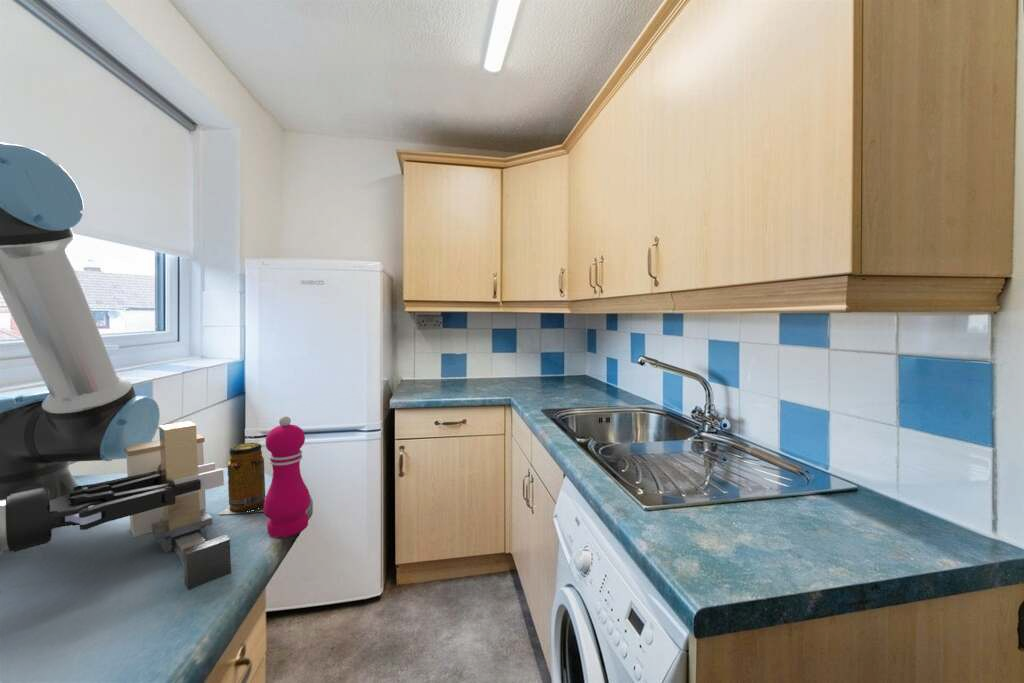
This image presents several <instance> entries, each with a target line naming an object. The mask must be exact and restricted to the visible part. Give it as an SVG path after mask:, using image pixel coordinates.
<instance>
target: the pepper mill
mask: <svg viewBox="0 0 1024 683" xmlns="http://www.w3.org/2000/svg"><path fill="white" fill-rule="evenodd" d="M291 421H292V420H291V418H290V416H287V415H284V416H281V417H280V418H279V421H278V424H279V425H278V426H275V427H274V428H271V429H270V430H269V431H268V433H267V434H266V438H265V442H264V443H265V447H266V450H268V451H269V452H270V455H269V456H268V458H269V464H270V465H272V479H271V482H270V486H269V489H268V490H267V493H266V494H265V496H266V498H265V501H264V512H263V514H264V515H265V517H267V519H269V520H268V521H267V534H268V535H269V536H270V537H272V538H277V539H278V538H286V537H292V536H294V535H298V534H299V533H301V532H303V531H304V530H305V529H307V528H308V526H309V515H308V514H309V513H307V510H308V509H309V508H310V505H311V495H310V491H309V488H308V487H307V485H306V484H305V481H304V478H302V474H301V468H300V467H301V466H300V465H301V464H300V463H301V461H302V459H303V455H302V454H303V451H302V449H301V448H302V447H303V446H304V444H305V441H306V436H305V432H304V429H302V427H300V426H299V425H295V424H292V423H291Z"/></svg>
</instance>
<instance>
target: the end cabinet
mask: <svg viewBox="0 0 1024 683" xmlns="http://www.w3.org/2000/svg"><path fill="white" fill-rule="evenodd" d="M196 436H197V459H198V466H199V465H204V464H205V460H204V459H205V458H204V443H205V437H204V436H202V435H201V434H200V433H197V432H196ZM124 451H125V452H126V456H127V459H126V471H127V477H130V476H135V475H140V474H144V473H149V472H153V471H158V474H159V469H161V454H160V439H158V440H152V441H151V442H146V443H140V444H134V445H128V446H124ZM206 503H207V502H206V490H203V491H199V504H200V510H201V509H204V510H205V511H206V512H207V507H206V506H207V505H206ZM161 517H164V515H163V507H160V508H156V509H152V510H149V511H145V512H142V513H138V514H134V515H131V516H129V526H130V528H129V529H130V532H131V533H132V536H133V537H134V538H135V537H138V536H143V535H146V534H149V533H152V529H151V524H153V523H157V522H160V521H161Z"/></svg>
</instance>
